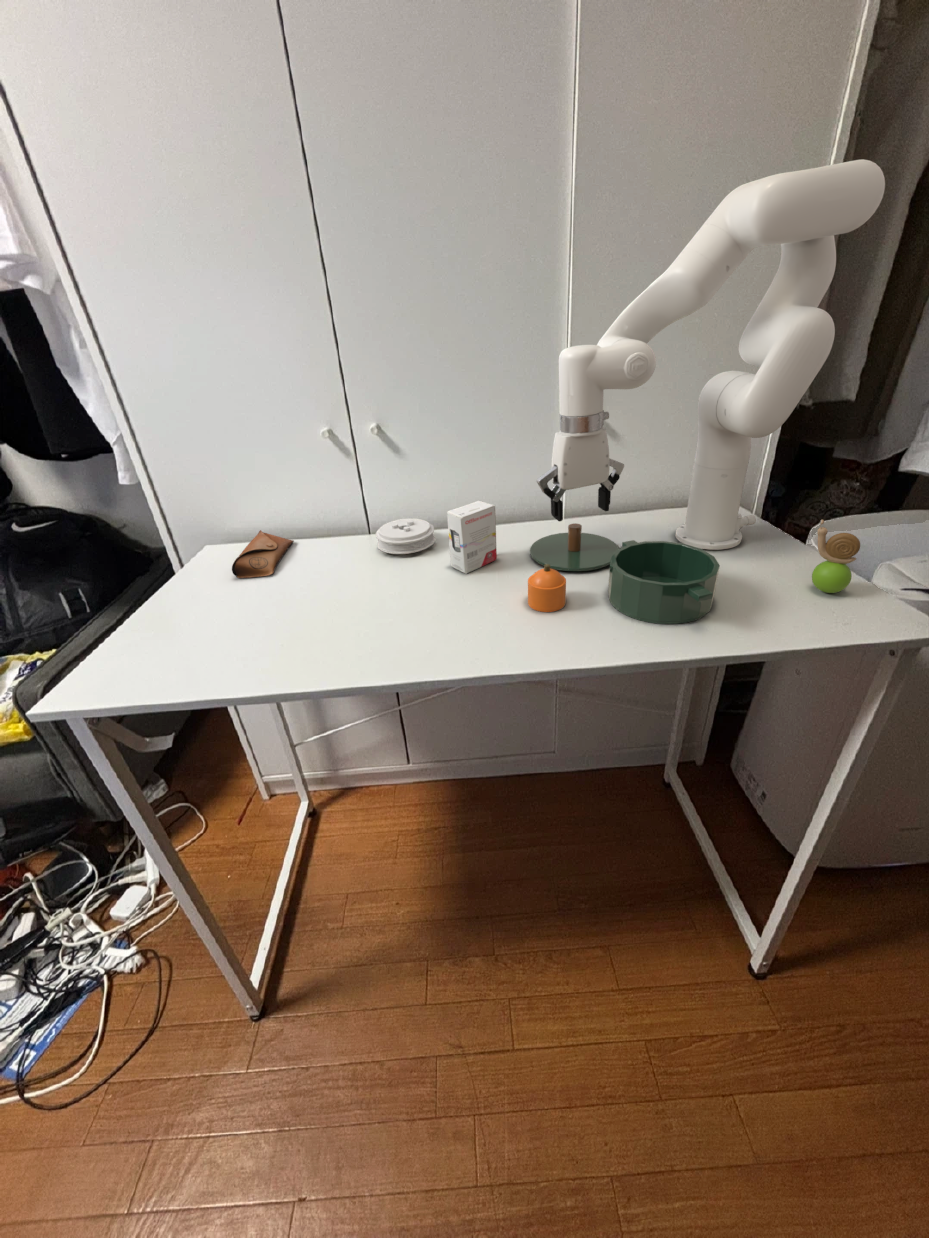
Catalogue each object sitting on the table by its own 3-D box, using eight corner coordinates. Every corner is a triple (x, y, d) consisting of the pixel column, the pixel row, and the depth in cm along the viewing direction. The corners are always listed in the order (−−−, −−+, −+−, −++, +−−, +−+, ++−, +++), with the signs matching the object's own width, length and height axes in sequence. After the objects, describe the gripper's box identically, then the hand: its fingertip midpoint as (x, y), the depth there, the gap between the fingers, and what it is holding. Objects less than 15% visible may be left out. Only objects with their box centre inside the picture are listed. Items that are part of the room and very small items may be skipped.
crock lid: (592, 532, 119) (594, 505, 116) (636, 564, 104) (639, 533, 101) (517, 546, 115) (517, 518, 112) (551, 580, 101) (551, 550, 98)
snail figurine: (802, 580, 95) (821, 514, 88) (846, 587, 92) (868, 519, 85) (800, 593, 91) (819, 526, 85) (845, 601, 88) (869, 532, 82)
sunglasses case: (274, 573, 110) (250, 549, 107) (250, 591, 112) (225, 567, 109) (295, 539, 126) (274, 517, 123) (273, 555, 128) (252, 534, 125)
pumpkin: (556, 591, 97) (556, 554, 94) (571, 607, 92) (573, 569, 88) (522, 598, 96) (522, 561, 92) (536, 615, 91) (536, 576, 87)
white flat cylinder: (440, 534, 124) (438, 513, 121) (429, 558, 113) (426, 535, 110) (386, 535, 126) (383, 514, 123) (370, 558, 115) (367, 536, 113)
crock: (664, 564, 103) (668, 529, 100) (745, 620, 85) (755, 580, 81) (584, 580, 100) (586, 545, 96) (651, 641, 82) (657, 601, 78)
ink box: (482, 553, 113) (479, 499, 107) (498, 561, 110) (496, 504, 104) (449, 567, 109) (444, 510, 103) (465, 575, 105) (461, 517, 99)
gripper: (614, 411, 101) (611, 500, 110) (527, 427, 98) (532, 516, 107) (636, 418, 95) (631, 511, 104) (544, 435, 92) (547, 529, 101)
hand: (580, 514), depth 106 cm, fingers open, 9 cm apart
